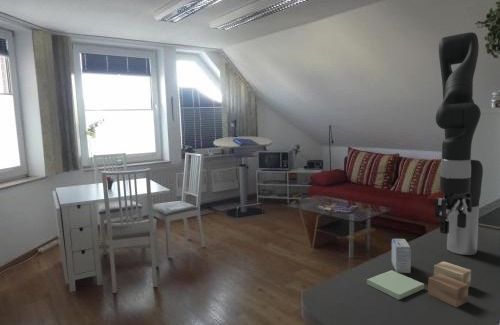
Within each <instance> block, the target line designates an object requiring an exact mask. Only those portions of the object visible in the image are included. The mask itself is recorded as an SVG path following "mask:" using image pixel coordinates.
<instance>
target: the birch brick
mask: <svg viewBox="0 0 500 325" xmlns="http://www.w3.org/2000/svg"><path fill="white" fill-rule="evenodd" d="M439 273H440V274H443V275H445V276H448V277H450V278H453V279H455V280H458V281H460V282H463V283H465V284H468V288H470V287H471V284H472V283H471V282H472V270H471V269H469V268H466V267H462V266H459V265H457V264H456V265H455V264H453V263H451V262H447V261H440V262H439V263H436V264H434V265H433V276H434V275H437V274H439Z"/></svg>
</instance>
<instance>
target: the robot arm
mask: <svg viewBox="0 0 500 325" xmlns="http://www.w3.org/2000/svg"><path fill="white" fill-rule="evenodd" d="M479 45H480V44H479V38H478V35H477V33H476V32H472V31H471V32H463V33H459V34H454V35H447V36H444V37H441V39H440V40H439V42H438V58H439V59H438V60H439V65H440V66H439V68H440V74H441V76H440V77H441V86H442V101H441V102H440V105H439V106H438V108H437V111H436V114H435V122H436V123H435V124H436V125H437V126H438V128H440V129H442V130H444V139H443V140H442V144H441V162H440V169H439V170H440V173H439V174H440V175H439V191H441V192H443V196H442V197H436V198H435V207H434V219H436V220H439V233H440V234H444V235H447V238H446V249H447V251H449V252H451V253H453V254H458V255H463V256H472V255H476V254H477V251H478V242H479V241H478V239H479V216H480V215H479V213H480V212H479V210H480V199H481V194H482V191H481V190H482V185H483V184H482V183H483V176H484V175H483V174H484V173H483V172H484V168H483V164H482V162H481V161H479V160H476V159H471V157H472V156H471V154H472V142H473V138H474V134H475V132H476V130H477V127H478V124H479V121H480V120H481V119H480V118H481V114H482V113H481V112H482V111H481V108H480V107H479V105H478V104H476V103H475V101H474V99H473V96H474V95H473V94H474V92H473V90H474V89H473V86H474V84H473V82H474V76H475V72H476V67H477V64H478V63H477V62H478V58H479V48H480V47H479ZM458 64H459V65H458ZM452 65H453V66H454V65H458V67H456V68H455V70H453V68H452Z"/></svg>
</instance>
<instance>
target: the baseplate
mask: <svg viewBox="0 0 500 325" xmlns="http://www.w3.org/2000/svg"><path fill="white" fill-rule="evenodd" d="M366 285H368V286H370V287H372V288H374V289H376V290H378V291H380V292H382V293H384V294H387V295H388V296H390V297H392V298H394V299H396V300H402V299H404V298H406V297H409V296H410V295H413V294H416V293H417V292H420V291H422V290H424V289H425V283H423V282H420V281H418V280H416V279H413V278H411V277H410V276H409V277H408V276H406V275H404V274H403V273H397V272H396V270H392V269H391V270H388V271H386V272H383V273H381V274H377V275H374V276H373V277H370V278H367V279H366Z"/></svg>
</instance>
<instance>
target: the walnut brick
mask: <svg viewBox="0 0 500 325" xmlns="http://www.w3.org/2000/svg"><path fill="white" fill-rule="evenodd" d="M427 279H428V281H427V295H428V296H431V297H433V298H434V299H435V298H436V299H437V300H440V301H441V302H444V303H446V304H447V305H451V306H453V307H455V308H458V307H460V306H462V305H465V304H466V303H468V302H469V301H468V300H469V298H468V297H469V287H468V284H465V283H463V282H460V281H458V280H455V279H453V278H450V277H448V276H445V275H443V274H440V273H439V274H437V275H434V274H433V275H432V276H429V277H427Z"/></svg>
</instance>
